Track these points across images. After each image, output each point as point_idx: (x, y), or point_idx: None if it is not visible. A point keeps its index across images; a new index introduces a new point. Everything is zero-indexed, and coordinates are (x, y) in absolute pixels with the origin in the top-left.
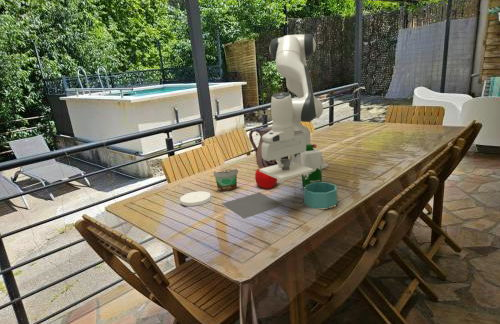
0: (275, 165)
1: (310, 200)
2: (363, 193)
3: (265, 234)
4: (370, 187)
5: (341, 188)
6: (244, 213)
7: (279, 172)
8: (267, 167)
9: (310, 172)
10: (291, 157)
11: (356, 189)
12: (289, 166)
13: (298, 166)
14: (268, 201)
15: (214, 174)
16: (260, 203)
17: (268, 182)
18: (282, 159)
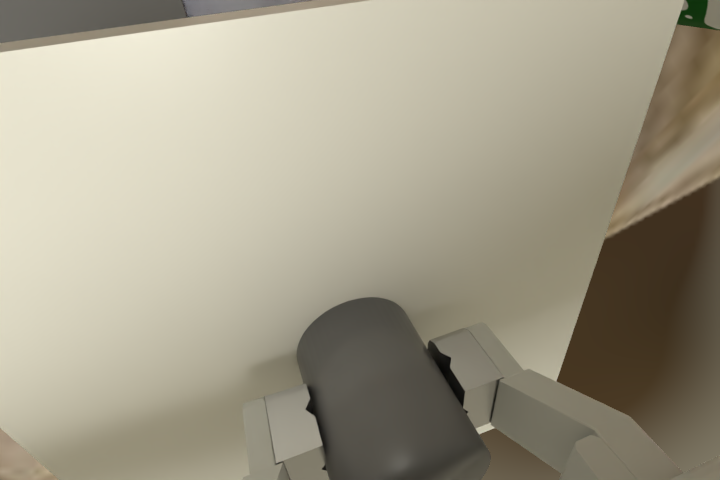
0: (307, 59)
1: None
2: (640, 197)
3: (3, 435)
4: (717, 149)
5: (659, 81)
6: None
7: (209, 437)
8: (30, 98)
9: (686, 4)
10: (565, 451)
11: (673, 138)
12: (464, 261)
13: (532, 305)
14: (111, 20)
15: None
16: (5, 21)
17: None
18: (394, 474)
